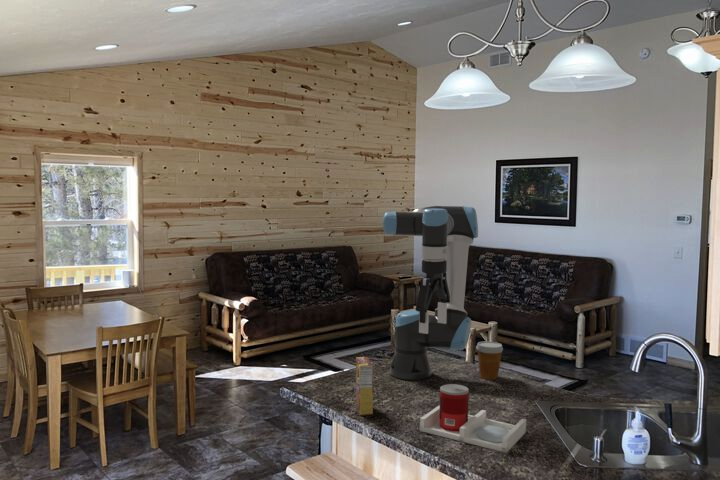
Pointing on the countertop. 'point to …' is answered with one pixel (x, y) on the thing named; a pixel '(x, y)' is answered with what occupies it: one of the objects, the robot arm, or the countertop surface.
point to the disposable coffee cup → (489, 359)
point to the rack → (474, 430)
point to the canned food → (453, 406)
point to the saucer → (491, 433)
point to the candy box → (364, 385)
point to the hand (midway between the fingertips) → (433, 327)
